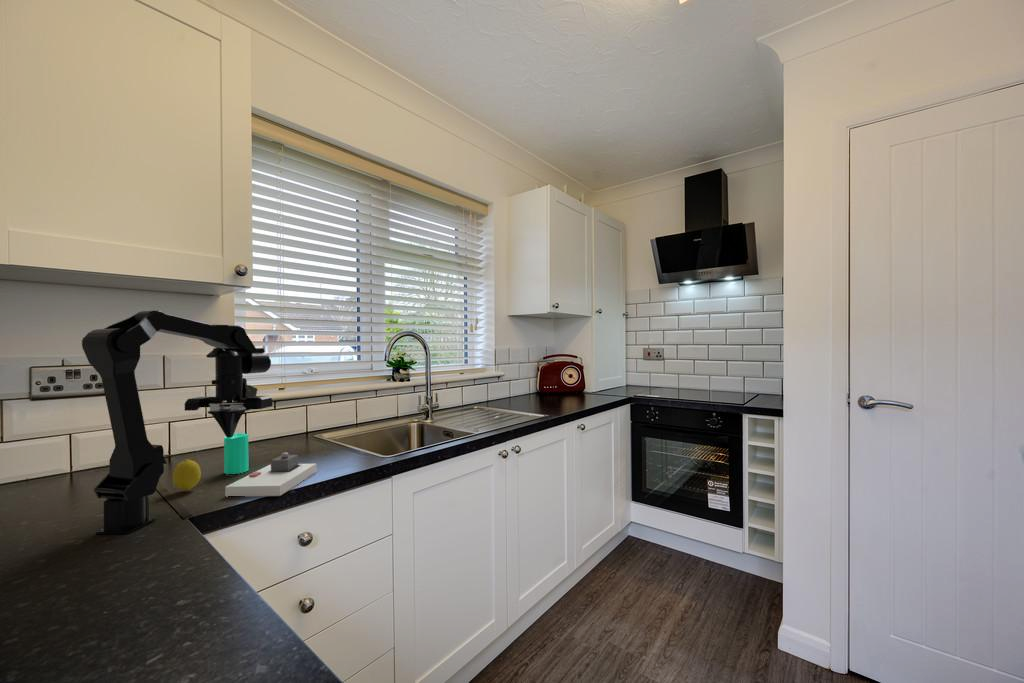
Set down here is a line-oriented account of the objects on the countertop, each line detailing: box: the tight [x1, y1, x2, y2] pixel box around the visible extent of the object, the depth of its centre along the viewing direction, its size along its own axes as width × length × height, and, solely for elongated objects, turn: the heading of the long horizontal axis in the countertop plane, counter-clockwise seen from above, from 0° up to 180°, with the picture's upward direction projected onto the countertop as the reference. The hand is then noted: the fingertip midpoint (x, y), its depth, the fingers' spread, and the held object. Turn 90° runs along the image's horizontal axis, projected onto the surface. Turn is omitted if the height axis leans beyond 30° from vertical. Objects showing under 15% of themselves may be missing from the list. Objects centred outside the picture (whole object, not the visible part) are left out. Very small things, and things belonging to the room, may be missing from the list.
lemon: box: [172, 458, 202, 492], centre depth 104 cm, size 6×6×8 cm
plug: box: [270, 452, 299, 473], centre depth 115 cm, size 6×4×6 cm
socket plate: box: [224, 463, 318, 498], centre depth 110 cm, size 19×13×3 cm
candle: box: [223, 429, 250, 474], centre depth 120 cm, size 6×6×12 cm
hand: (229, 437), depth 106 cm, fingers closed
